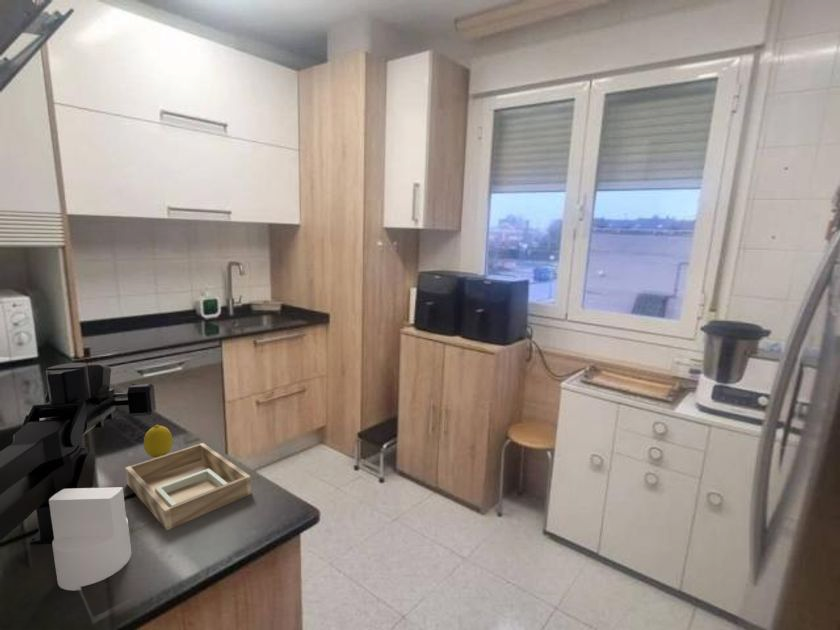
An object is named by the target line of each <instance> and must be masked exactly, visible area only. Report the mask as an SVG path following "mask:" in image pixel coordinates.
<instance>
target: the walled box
mask: <svg viewBox="0 0 840 630" xmlns="http://www.w3.org/2000/svg"><path fill="white" fill-rule="evenodd" d="M208 468H209V469H210V470H212V471H213V472H214V473H216V474H217V475H218V476H219V477H221V478H222V479H223V480H225V481H226V482H227V484H225V485H222V486H220V487H218V486H216V485H215V484H214V483H213V482H212V481H210V480H209V479H208V478H206V479H203V480H200V481H198V482H195V483H192V484H190V485H187V486H184V487H182V488H179V489H176V490H174V491H171V492H169V493H167V494H168V495H169V496H170V497H171V498H172V499H173V500H174V502H175V503H176V504H175V505H172V506H170V507H168V506H167V505H166V504H165V503H164V502H163V501H162V500H161V499H160V497H159V496H158V495H157V494H156V493H155V488H156V487H159V486H162V485H165V484H167V483H170V482H173V481H176V480H178V479H181V478H184V477H187V476H189V475H192V474H195V473H197V472H200V471H203V470H206V469H208ZM124 469H125V478H126V485H127V486H128V487H129V488H130V489H131V490H132V492H133V493H134V494H135V495H136V496H137V497H138V498H139V500H140V501H141V502H142V504H144V505H145V507H146V508H147V509H148V510H149V511H150V512H151V513H152V515H153V516H154V517H155V518H156V519H157V521H158V522H159V523H160V524H161V525H162V527H163V528H164V529H165V530H166V531H168V530H169V531H170V530H171V529H173V528H176V527H179V526H180V525H183V524H184V523H185V524H186V523H187V522H190V521H192V520H194V519H197V518H199V517H201V516H203V515H205V514H208V513H210V512H212V511H215V510H217V509H219V508H222V507H224V506H226V505H229V504H231V503H233V502H235V501H238V500H240V499H243V498H244V497H247V496H249V495H252V494H253V492H252V490H253V489H252V477H251V475H250V474H248V473H247V472H245V471H244V470H242V469H241V468H239V467H238V466H237V465H235V464H234V463H232V462H231V461H230V460H228V459H227V458H225V457H224V456H223V455H221V454H220V453H219V452H217V451H215V450H213V449H212V448H211V447H209V446H208V444H207V445H206V444H205V443H204V442H200V443H198V444H195V445H192V446H188V447H185V448H182V449H179V450H176V451H173V452H168V453H167V454H166V455H163V456H160V457H157V458H156V457H152V458H150V459H148V460H144V461H142V462H138V463H135V464H132V465H129V466H126V467H125V468H124Z"/></svg>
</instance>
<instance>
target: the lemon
mask: <svg viewBox="0 0 840 630" xmlns="http://www.w3.org/2000/svg"><path fill="white" fill-rule="evenodd" d="M172 446H173V435H172V433H171V431H170V430H169V429H168V427H166V426H164V425H159V424H155V425H154V426H153V427H150V429H148V431H146V433H145V435H144V438H143V447H144V448H143V449H144V450H145V453H146V454H147V455H148V456H149V457H152V458H157V457H160V456H163V455H166V454H169V453H170V450H171V449H172Z"/></svg>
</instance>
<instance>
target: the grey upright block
mask: <svg viewBox="0 0 840 630" xmlns="http://www.w3.org/2000/svg"><path fill="white" fill-rule="evenodd" d="M125 505H126V504H125V495H124V488H123V487H122V486H121V487H120V486H118V487H116V486H114V487H92V488H72V489H63V490H61V491H59V492H58V493H56V494H55V495H53V496H52V497H51V498H50V499H49V506H50V513H51V520H52V527H53V534H54V540H53V541H51V542H52V543H51V545H52V551H53V558H54V559H53V560H54V565H55V566H54V567H55V573H56V581H57V584H58V586H59V588H60V589H63V590H66V591H82V590H83V589H82V587H85V586H89V585H93V584H95V583H99V582H101V581H103V580H106V579H107V578H109V577H110V576H113V575H114V574H115V573H117V572H119V571H121V570H122V569H123V568H124V566H125V565H127V564H128V562H129V561H130V560H131V557H132V546H131V536H130V528H129V520H128V517H127V513H126V506H125Z"/></svg>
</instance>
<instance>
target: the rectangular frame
mask: <svg viewBox="0 0 840 630" xmlns="http://www.w3.org/2000/svg"><path fill="white" fill-rule="evenodd" d="M206 478H208V479H209V480H210V481H212V482H213V483H214V484H215V485H216V486H218V487H220V486H222V485H225V484H227V482H226V481H225V480H223V479H222V478H221V477H219V476H218V475H217V474H216V473H214V472H213V471H212V470H210V469H209V468H208V469H206V470H203V471H200V472H197V473H195V474H192V475H189V476H187V477H184V478H181V479H178V480H176V481H173V482H170V483H167V484H165V485H162V486H159V487H156V488H155V493H156V494H157V495H158V496H159V497H160V499H161V500H162V501H163V502H164V503H165V504H166V505H167V506H168V507H170V506H172V505H175V504H176V503H175V502H174V500H173V499H172V498H171V497H170V496H169V495H168V494H167V493H169V492H171V491H174V490H176V489H179V488H182V487H184V486H187V485H190V484H192V483H195V482H198V481H200V480H203V479H206Z"/></svg>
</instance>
